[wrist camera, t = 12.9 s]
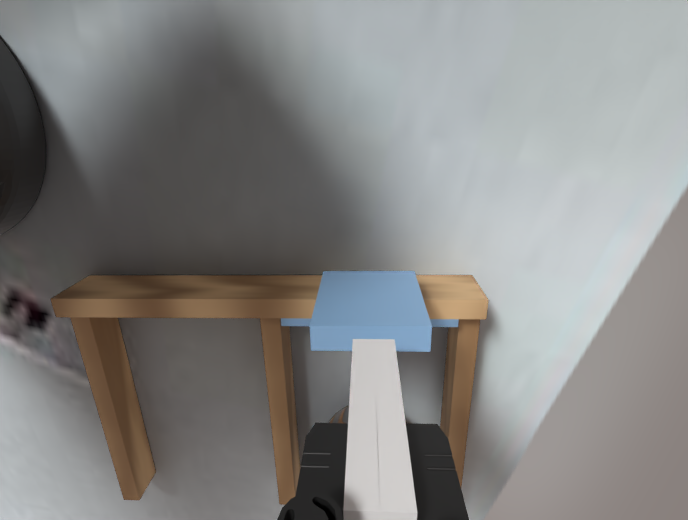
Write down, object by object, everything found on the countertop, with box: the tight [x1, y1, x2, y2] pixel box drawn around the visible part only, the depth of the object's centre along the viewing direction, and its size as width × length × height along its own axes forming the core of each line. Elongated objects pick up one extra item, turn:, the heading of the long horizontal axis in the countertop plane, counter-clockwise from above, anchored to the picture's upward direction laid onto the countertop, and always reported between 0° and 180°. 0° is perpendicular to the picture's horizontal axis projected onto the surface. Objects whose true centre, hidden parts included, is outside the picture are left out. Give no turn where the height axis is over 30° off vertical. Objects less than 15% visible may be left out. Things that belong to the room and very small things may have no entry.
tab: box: [310, 271, 432, 352], centre depth 19 cm, size 5×1×6 cm, turn 91°
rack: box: [50, 275, 488, 504], centre depth 27 cm, size 25×17×4 cm
